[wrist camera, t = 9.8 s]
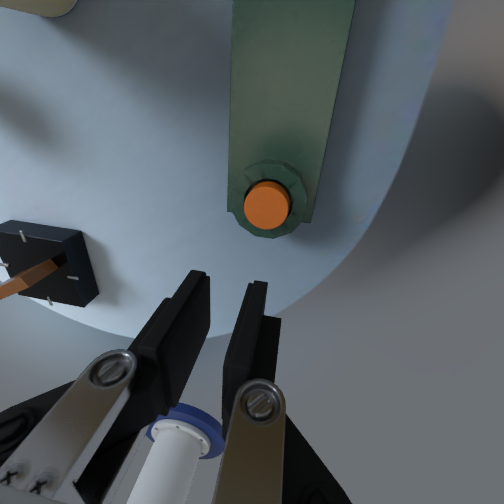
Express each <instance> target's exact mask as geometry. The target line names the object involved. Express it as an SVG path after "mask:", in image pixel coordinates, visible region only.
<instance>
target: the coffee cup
mask: <svg viewBox="0 0 504 504" xmlns="http://www.w3.org/2000/svg"><path fill="white" fill-rule="evenodd" d="M77 1H78V0H0V6H1V7H5V8H10V9H14V10H18V11H22V12H26V13H30V14H35V15H40V16H45V17H58V16H62V15H65V14H66V13H68V12H69V11H70V10H71V9H72V8H73V7H74V6H75V4H76V2H77Z"/></svg>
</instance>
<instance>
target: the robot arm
mask: <svg viewBox="0 0 504 504" xmlns="http://www.w3.org/2000/svg"><path fill="white" fill-rule="evenodd" d="M267 286H268V282H262V281H256V280H255V281H254V283H249V284H248V287H247V290H246V293H245V296H244V299H243V302H242V305H241V309H240V312H239V315H238V318H237V321H236V324H235V327H234V330H233V334H232V337H231V340H230V343H229V346H228V349H227V352H226V356H225V360H224V365H223V386H222V419H223V424H222V438H223V440H224V442H225V445H224V450H223V454H222V459H221V463H220V468H219V472H218V477H217V481H216V486H215V490H214V495H213V499H212V504H352V503H351V501H350V500H349V498H348V496H347V495H346V493H345V491H344V490H343V489H342V487H341V486H340V485H339V483H338V482H337V481H336V480H335V478H334V477H333V475H332V474H331V473H330V472H329V470H328V469H327V467H326V466H325V465H324V463H323V462H322V461H321V459H320V458H319V457H318V455H317V454H316V453H315V451H314V450H313V449H312V447H311V446H310V445H309V443H308V442H307V441H306V440H305V438H304V437H303V436H302V434H301V433H300V432H299V430H298V429H297V428H296V426H295V425H294V424H293V422H292V421H291V420H290V418H289V417H288V416H287V414H286V404H285V398H284V396H283V393H282V391H281V390H280V389H279V388H278V386H276V385H275V384H274V381H275V372H276V363H277V354H278V345H279V337H280V327H281V318H276V317H271V316H266V315H264V309H265V301H266V293H267ZM209 328H210V277H209V276H206V273H205V272H203V271H197V270H191V271H190V272H189V274H188V275H187V276H186V278H185V279H184V281H183V282H182V284H181V285H180V287H179V288H178V289H177V291H176V292H175V294H174V295H173V297H172V298H165V299H164V300H163V301H162V303H161V304H160V305H159V307H158V308H157V309H156V311H155V312H154V313H153V315H152V316H151V318H150V319H149V320H148V322H147V323H146V324H145V326H144V327H143V329H142V330H141V331H140V333H139V334H138V335H137V337H136V338H135V339H134V341H133V342H132V344H131V345H130V346H129V348H128V349H127V350H124V349H117V350H111V351H108V352H106V353H104V354H101V355H100V356H98V357H97V358H95V359H94V360H93V361H92V362H91V363H90V364H89V365H88V366H87V368H86V369H85V370H84V371H83V372H82V373H81V375H80V376H79V377H78V378H77V379H76V380H74V381H72V382H69V383H67V384H65V385H62V386H60V387H58V388H55V389H53V390H50V391H48V392H46V393H43V394H41V395H38V396H36V397H34V398H31V399H29V400H27V401H24V402H22V403H19V404H17V405H15V406H12V407H10V408H8V409H6V410H4V411H2V412H1V413H0V504H110V503H111V501H112V499H113V497H114V495H115V493H116V491H117V489H118V488H119V485H120V484H121V482H122V480H123V478H124V476H125V474H126V472H127V470H128V468H129V466H130V464H131V462H132V460H133V458H134V456H135V454H136V452H137V450H138V448H139V446H140V444H141V442H142V440H143V438H144V436H145V434H146V432H147V430H148V427H149V424H151V423H153V422H155V421H156V419H157V417H158V415H162V416H167V415H168V413H169V410H170V408H171V407H172V408H175V407H176V406H177V404H178V401H179V399H180V397H181V394H182V392H183V390H184V388H185V385H186V383H187V381H188V378H189V376H190V374H191V371H192V369H193V366H194V364H195V362H196V359H197V357H198V355H199V353H200V350H201V348H202V345H203V343H204V341H205V339H206V336H207V334H208V332H209ZM151 434H152V437H153V439H154V440H155V442H154V444H153V446H152V448H151V450H150V453H149V455H148V457H147V459H146V462H145V464H144V467H143V469H142V470H141V473H140V475H139V477H138V480H137V482H136V484H135V486H134V488H133V491H132V493H131V495H130V497H129V499H128V502H127V504H185V502H186V499H187V496H188V492H189V489H190V486H191V483H192V479H193V476H194V473H195V469H196V466H197V462H198V459H199V457H202V456H204V455H206V454H207V453H208V452H209V449H210V446H211V443H210V440H209V438H208V436H207V435H206V434H205V433H204V432H203V431H201V430H200V429H199V428H197V427H195V426H194V425H191V424H189V423H187V422H184V421H180V420H175V419H163V420H159V421H157V422H156V423H155V424H154V425H153V428H152V430H151Z"/></svg>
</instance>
